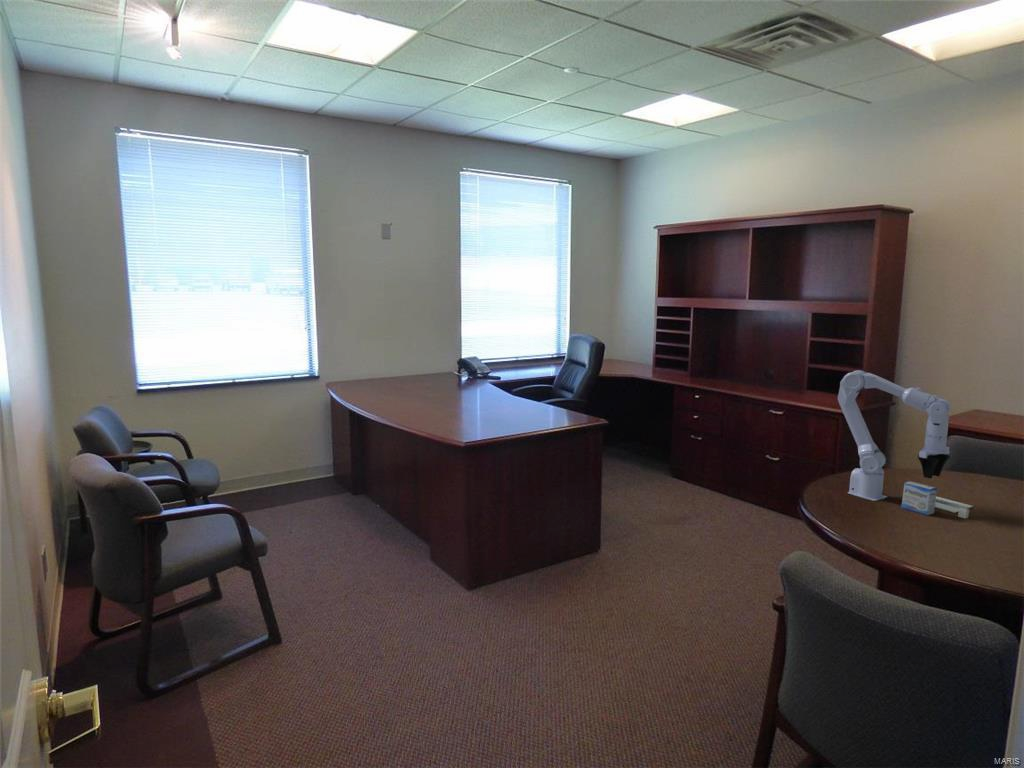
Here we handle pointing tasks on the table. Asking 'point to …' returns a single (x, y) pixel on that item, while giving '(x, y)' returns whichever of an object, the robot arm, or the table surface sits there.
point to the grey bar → (952, 504)
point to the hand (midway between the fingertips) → (931, 476)
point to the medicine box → (919, 498)
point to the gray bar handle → (963, 513)
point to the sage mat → (949, 508)
